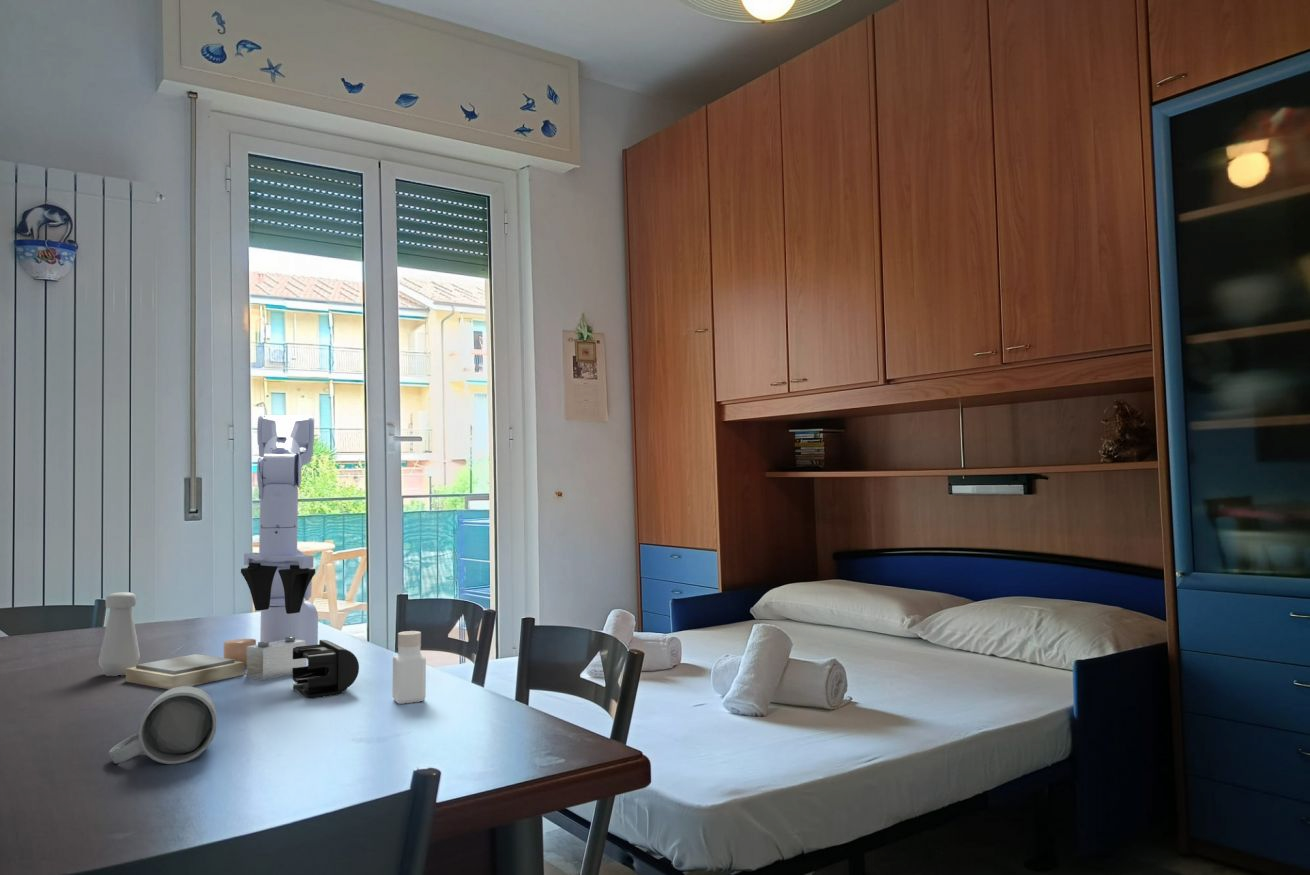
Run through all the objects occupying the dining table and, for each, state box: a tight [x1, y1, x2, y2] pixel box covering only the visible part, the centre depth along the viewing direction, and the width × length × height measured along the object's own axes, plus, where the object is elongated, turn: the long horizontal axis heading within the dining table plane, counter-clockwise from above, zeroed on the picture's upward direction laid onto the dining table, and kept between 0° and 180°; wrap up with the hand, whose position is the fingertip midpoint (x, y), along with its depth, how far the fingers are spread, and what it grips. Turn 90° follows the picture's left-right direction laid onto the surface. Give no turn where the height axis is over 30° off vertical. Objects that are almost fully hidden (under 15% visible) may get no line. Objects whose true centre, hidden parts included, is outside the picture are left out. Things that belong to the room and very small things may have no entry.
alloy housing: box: [246, 637, 307, 681], centre depth 146 cm, size 8×4×6 cm, turn 150°
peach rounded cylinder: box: [222, 638, 257, 668], centre depth 154 cm, size 5×5×4 cm
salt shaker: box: [97, 591, 141, 677], centre depth 147 cm, size 6×6×13 cm
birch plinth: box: [125, 653, 245, 690], centre depth 143 cm, size 12×12×2 cm
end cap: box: [291, 639, 360, 700], centre depth 135 cm, size 10×7×7 cm
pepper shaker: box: [392, 630, 427, 705], centre depth 128 cm, size 4×4×10 cm
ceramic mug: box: [108, 686, 217, 765], centre depth 102 cm, size 11×8×8 cm
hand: (277, 611), depth 146 cm, fingers open, 7 cm apart
